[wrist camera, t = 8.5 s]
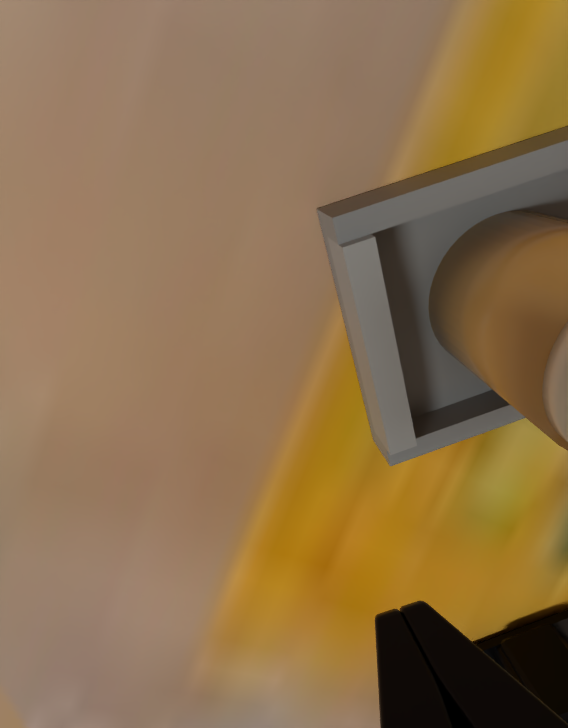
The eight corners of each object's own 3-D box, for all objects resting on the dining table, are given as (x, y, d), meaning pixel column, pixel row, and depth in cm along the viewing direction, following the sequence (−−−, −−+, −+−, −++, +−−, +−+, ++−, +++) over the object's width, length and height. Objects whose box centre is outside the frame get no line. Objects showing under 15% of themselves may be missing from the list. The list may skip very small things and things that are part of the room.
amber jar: (578, 336, 20) (748, 426, 14) (440, 385, 20) (555, 498, 14) (575, 187, 18) (779, 221, 12) (416, 241, 17) (544, 303, 11)
